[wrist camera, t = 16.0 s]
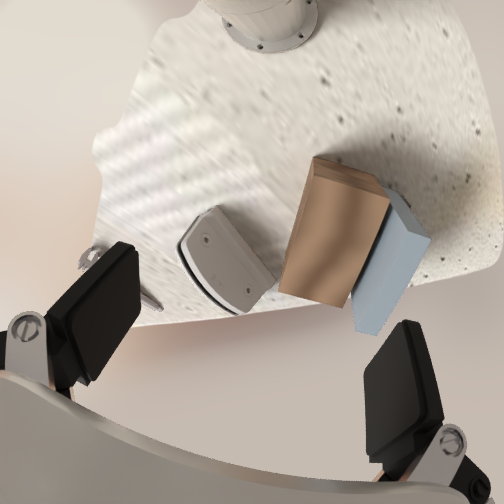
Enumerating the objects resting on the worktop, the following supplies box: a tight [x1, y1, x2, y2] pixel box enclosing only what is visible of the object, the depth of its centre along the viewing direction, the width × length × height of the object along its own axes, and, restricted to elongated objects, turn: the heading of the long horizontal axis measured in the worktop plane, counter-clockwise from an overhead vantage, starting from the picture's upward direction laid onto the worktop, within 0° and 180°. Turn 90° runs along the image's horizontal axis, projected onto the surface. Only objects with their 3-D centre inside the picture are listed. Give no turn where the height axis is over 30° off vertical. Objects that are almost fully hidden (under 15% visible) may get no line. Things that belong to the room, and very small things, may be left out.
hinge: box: [174, 205, 276, 316], centre depth 46 cm, size 17×5×10 cm, turn 37°
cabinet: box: [278, 157, 411, 308], centre depth 38 cm, size 14×16×10 cm
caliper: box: [78, 248, 163, 312], centre depth 55 cm, size 20×1×6 cm, turn 49°
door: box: [351, 186, 432, 336], centre depth 36 cm, size 4×14×15 cm, turn 169°
